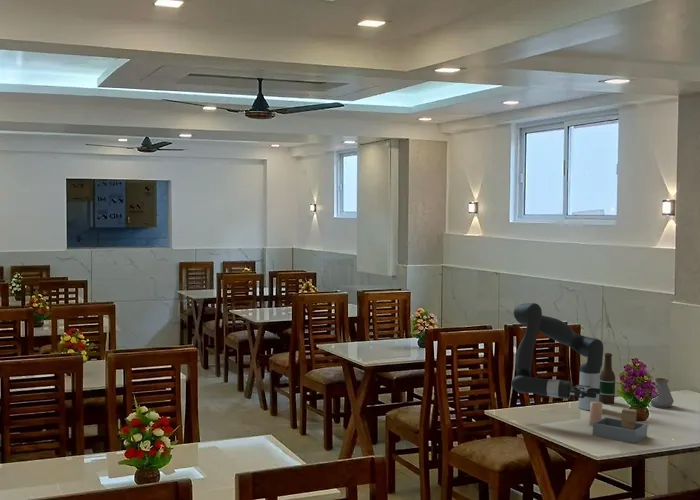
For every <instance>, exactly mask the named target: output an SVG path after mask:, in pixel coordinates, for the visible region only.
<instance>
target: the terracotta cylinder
mask: <svg viewBox="0 0 700 500" xmlns="http://www.w3.org/2000/svg"><path fill="white" fill-rule="evenodd" d="M602 418H603V403H602V402H600V401H590V410H589V425H590V426H591V427H593V423H595V422H596V421H598V420H600V419H602Z"/></svg>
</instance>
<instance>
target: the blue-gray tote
mask: <svg viewBox="0 0 700 500" xmlns="http://www.w3.org/2000/svg"><path fill="white" fill-rule="evenodd" d="M647 432H648V424H646V423H642V422H641V423H640V422H636V430H631V429H625V428H621V419H618V418H611V417H606V416H604V417H602V419H600V420H598V421H596V422H595V423H593V426H592V436H594V437H601V438H604V439H605V438H606V439H611V440H616V441H621V442H626V443H630V444H637V443H639V442H640V441H641V440H644V439H646V437H647V436H648V435H647V434H648V433H647Z"/></svg>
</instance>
